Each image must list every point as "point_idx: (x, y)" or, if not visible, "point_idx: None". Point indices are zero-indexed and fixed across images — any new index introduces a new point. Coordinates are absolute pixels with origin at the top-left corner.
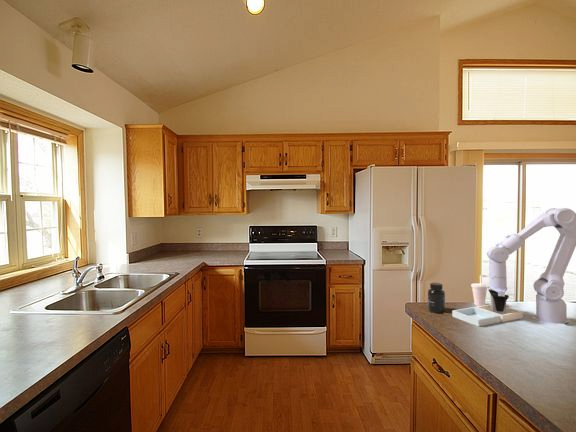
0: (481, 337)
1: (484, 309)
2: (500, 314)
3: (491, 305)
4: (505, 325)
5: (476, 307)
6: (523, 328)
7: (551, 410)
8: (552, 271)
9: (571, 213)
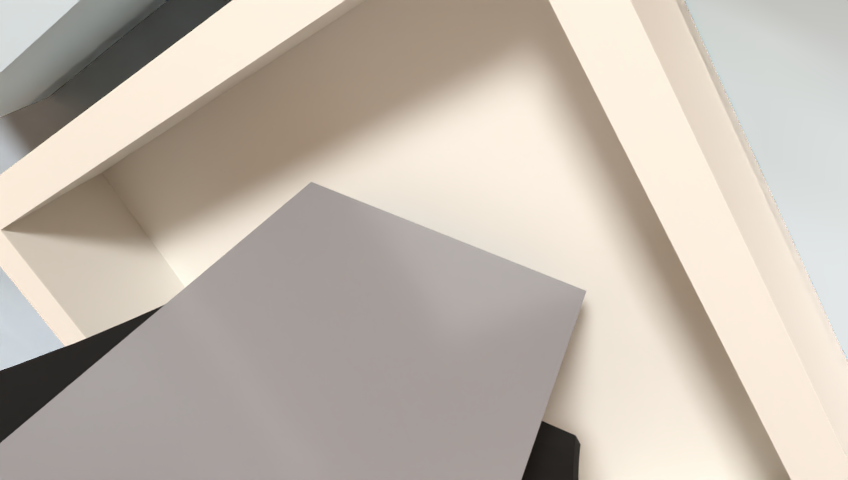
0: None
1: (256, 22)
2: (6, 212)
3: (406, 351)
4: (11, 135)
5: None
6: (8, 304)
7: None
8: None
9: None
